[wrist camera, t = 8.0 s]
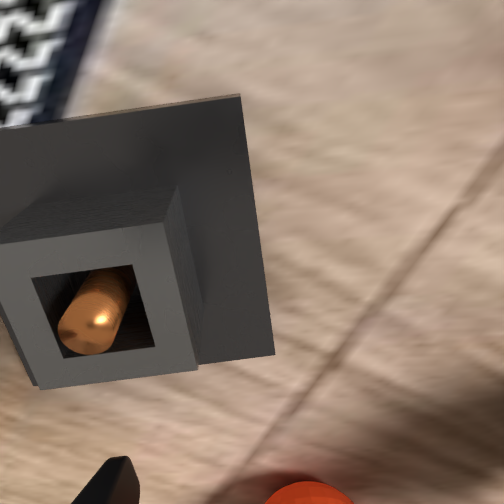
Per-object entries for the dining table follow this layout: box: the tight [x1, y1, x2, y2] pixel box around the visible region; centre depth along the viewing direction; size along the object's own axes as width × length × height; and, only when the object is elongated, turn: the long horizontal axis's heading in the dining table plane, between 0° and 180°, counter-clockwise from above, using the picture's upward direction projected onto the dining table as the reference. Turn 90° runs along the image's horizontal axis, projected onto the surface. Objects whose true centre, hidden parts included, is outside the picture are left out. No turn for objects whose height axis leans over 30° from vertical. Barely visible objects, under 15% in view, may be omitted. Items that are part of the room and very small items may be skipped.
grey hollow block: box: [0, 185, 204, 390], centre depth 17 cm, size 6×6×4 cm
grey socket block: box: [0, 94, 275, 386], centre depth 17 cm, size 12×12×6 cm
